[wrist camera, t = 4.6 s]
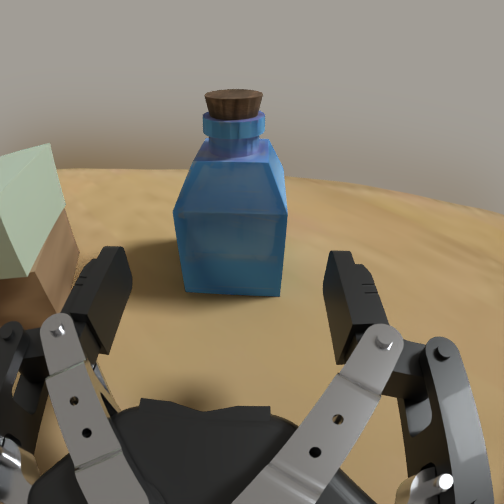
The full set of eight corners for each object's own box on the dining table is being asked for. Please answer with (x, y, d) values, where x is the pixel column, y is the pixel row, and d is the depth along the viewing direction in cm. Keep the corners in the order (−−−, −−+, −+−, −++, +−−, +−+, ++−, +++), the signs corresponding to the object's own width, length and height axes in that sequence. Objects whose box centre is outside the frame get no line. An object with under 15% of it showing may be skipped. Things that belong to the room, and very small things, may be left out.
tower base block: (-19, 336, 16) (-52, 287, 13) (7, 267, 22) (-14, 221, 19) (65, 328, 18) (34, 271, 15) (80, 254, 24) (62, 202, 21)
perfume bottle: (279, 296, 21) (295, 106, 13) (185, 292, 21) (161, 107, 13) (278, 240, 25) (287, 87, 18) (201, 237, 26) (190, 86, 18)
